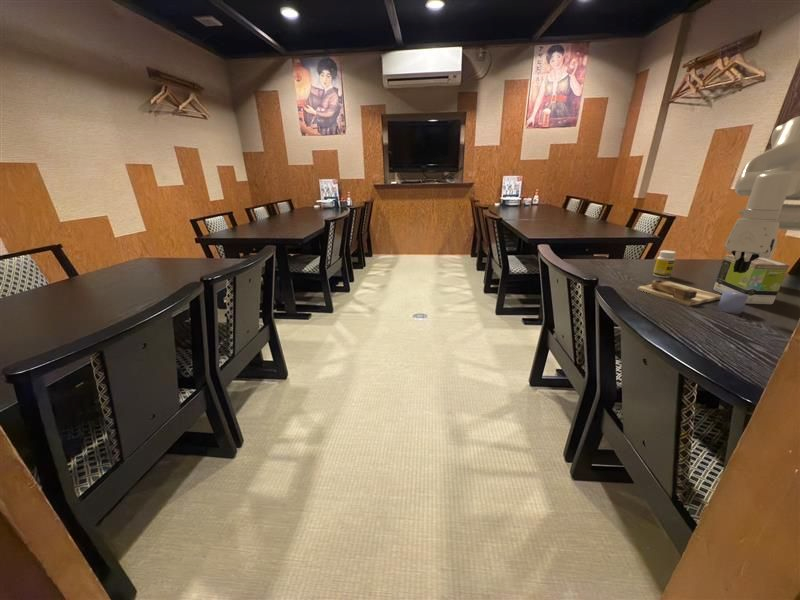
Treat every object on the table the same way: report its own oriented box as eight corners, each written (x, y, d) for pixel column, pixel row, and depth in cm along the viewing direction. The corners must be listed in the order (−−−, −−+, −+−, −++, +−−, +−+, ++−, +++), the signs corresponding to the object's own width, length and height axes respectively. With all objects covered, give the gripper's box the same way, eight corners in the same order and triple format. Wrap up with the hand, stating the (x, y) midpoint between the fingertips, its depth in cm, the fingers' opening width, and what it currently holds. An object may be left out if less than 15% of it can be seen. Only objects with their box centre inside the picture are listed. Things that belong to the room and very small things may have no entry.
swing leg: (695, 297, 116) (698, 289, 115) (688, 299, 116) (690, 291, 114) (655, 285, 130) (657, 278, 129) (648, 286, 129) (650, 279, 128)
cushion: (724, 305, 114) (730, 289, 111) (745, 312, 108) (752, 295, 106) (713, 308, 112) (718, 291, 110) (734, 315, 107) (741, 297, 104)
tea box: (774, 305, 113) (791, 264, 107) (740, 303, 115) (755, 263, 109) (741, 290, 126) (755, 253, 121) (711, 289, 128) (724, 253, 123)
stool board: (667, 283, 136) (670, 273, 134) (721, 298, 119) (725, 286, 118) (637, 289, 131) (640, 278, 130) (688, 306, 114) (692, 293, 113)
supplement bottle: (665, 278, 142) (673, 254, 138) (649, 275, 147) (656, 251, 143) (672, 276, 145) (680, 251, 141) (656, 273, 150) (663, 249, 146)
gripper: (723, 213, 105) (705, 267, 111) (786, 218, 91) (761, 279, 98) (738, 212, 107) (720, 265, 113) (802, 216, 93) (777, 277, 100)
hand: (739, 271), depth 106 cm, fingers closed
